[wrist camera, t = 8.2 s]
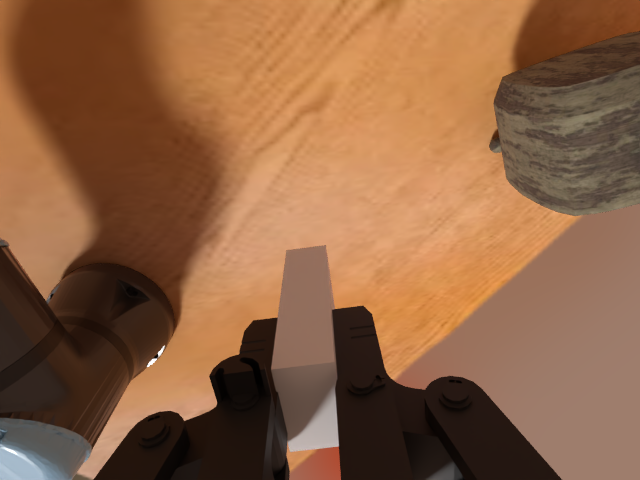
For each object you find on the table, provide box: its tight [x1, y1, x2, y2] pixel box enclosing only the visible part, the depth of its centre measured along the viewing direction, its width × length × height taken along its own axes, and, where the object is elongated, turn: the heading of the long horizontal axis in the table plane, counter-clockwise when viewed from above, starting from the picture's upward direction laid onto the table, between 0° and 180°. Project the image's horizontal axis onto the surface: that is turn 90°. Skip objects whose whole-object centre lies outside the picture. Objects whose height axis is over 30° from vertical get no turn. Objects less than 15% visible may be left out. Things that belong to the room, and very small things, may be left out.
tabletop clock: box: [489, 31, 640, 216], centre depth 32 cm, size 14×9×25 cm, turn 109°
